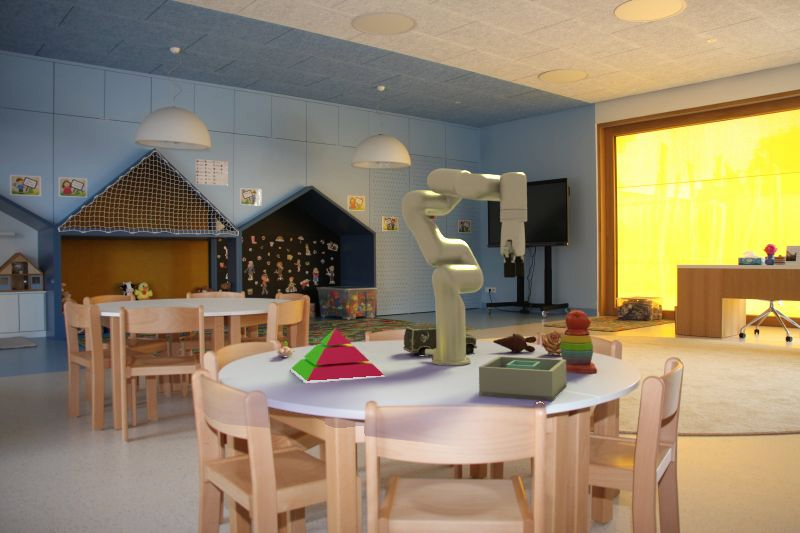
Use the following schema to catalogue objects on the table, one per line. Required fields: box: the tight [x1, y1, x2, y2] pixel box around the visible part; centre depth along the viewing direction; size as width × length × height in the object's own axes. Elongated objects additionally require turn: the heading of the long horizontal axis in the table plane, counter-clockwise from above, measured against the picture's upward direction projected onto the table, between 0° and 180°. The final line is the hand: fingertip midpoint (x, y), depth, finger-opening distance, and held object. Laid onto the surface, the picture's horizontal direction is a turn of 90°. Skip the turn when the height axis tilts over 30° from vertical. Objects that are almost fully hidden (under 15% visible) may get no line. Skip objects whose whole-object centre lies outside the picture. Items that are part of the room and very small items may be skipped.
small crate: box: [506, 360, 540, 370], centre depth 165 cm, size 7×7×6 cm
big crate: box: [478, 355, 567, 402], centre depth 165 cm, size 18×18×7 cm
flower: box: [540, 329, 564, 356], centre depth 222 cm, size 10×9×8 cm
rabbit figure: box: [276, 340, 296, 357], centre depth 227 cm, size 6×6×15 cm
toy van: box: [402, 323, 478, 356], centre depth 230 cm, size 11×25×10 cm, turn 106°
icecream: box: [493, 333, 537, 353], centre depth 229 cm, size 7×7×15 cm
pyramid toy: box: [291, 328, 385, 381], centre depth 193 cm, size 25×25×14 cm
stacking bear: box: [560, 309, 598, 374], centre depth 192 cm, size 11×10×18 cm
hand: (514, 276), depth 185 cm, fingers open, 9 cm apart
